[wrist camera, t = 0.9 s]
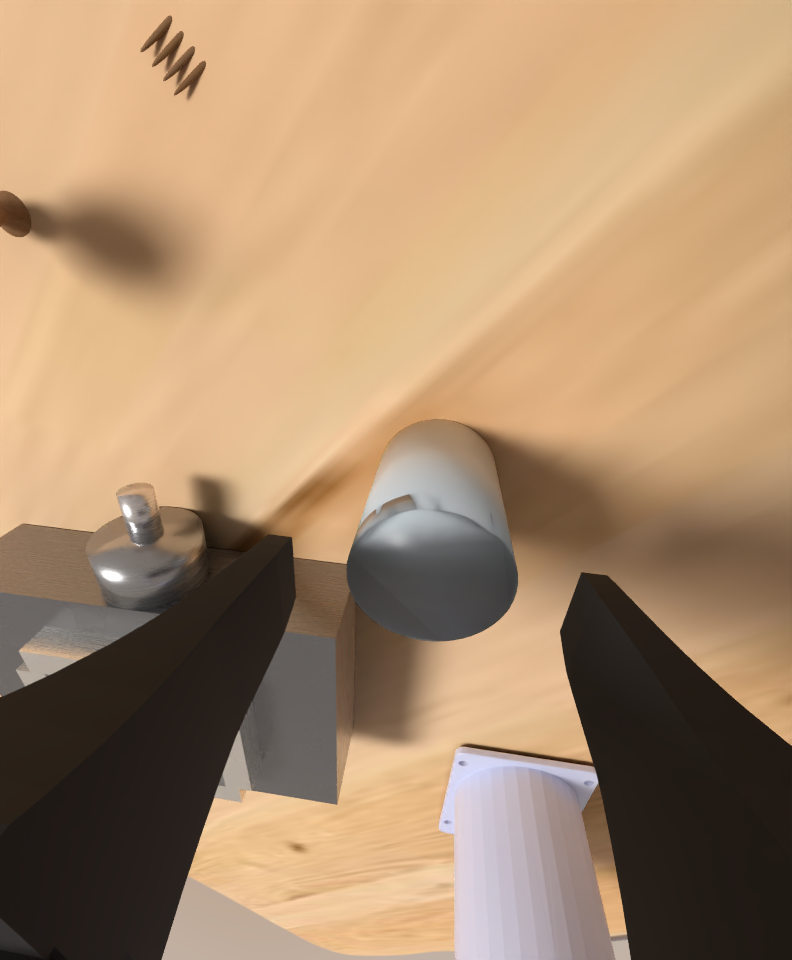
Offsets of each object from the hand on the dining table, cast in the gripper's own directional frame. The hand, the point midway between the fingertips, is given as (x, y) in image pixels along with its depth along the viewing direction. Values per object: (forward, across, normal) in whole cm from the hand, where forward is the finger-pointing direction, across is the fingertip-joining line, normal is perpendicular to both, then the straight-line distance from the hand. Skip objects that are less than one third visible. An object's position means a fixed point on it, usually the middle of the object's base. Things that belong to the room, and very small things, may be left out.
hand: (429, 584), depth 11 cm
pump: (+6, 0, 0) cm, 6 cm away
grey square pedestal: (+6, +11, +9) cm, 16 cm away
